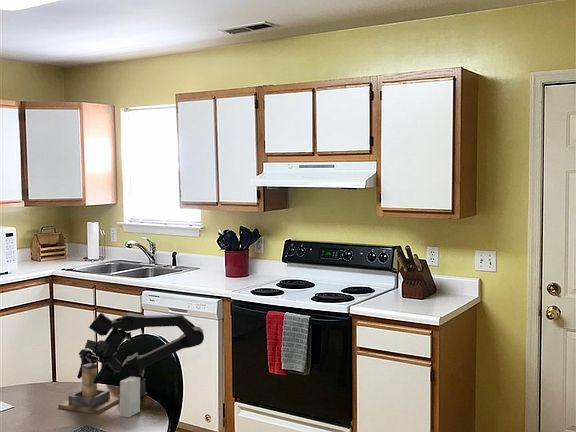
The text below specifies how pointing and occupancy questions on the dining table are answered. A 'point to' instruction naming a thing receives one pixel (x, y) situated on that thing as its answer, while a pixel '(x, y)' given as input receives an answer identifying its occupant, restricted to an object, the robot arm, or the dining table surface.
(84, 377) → the beige tall block
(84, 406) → the peg socket base
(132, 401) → the skincare box
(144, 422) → the dining table surface
